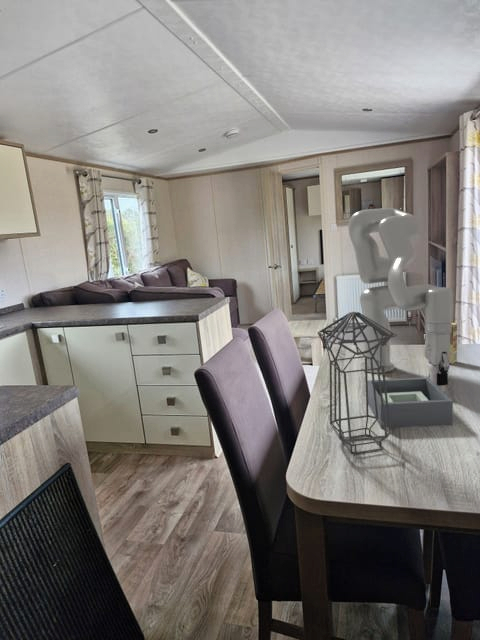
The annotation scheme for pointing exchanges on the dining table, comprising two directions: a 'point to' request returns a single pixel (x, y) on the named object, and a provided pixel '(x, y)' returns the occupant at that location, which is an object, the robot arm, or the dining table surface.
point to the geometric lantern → (344, 322)
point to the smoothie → (434, 374)
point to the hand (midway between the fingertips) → (438, 380)
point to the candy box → (453, 343)
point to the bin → (411, 403)
